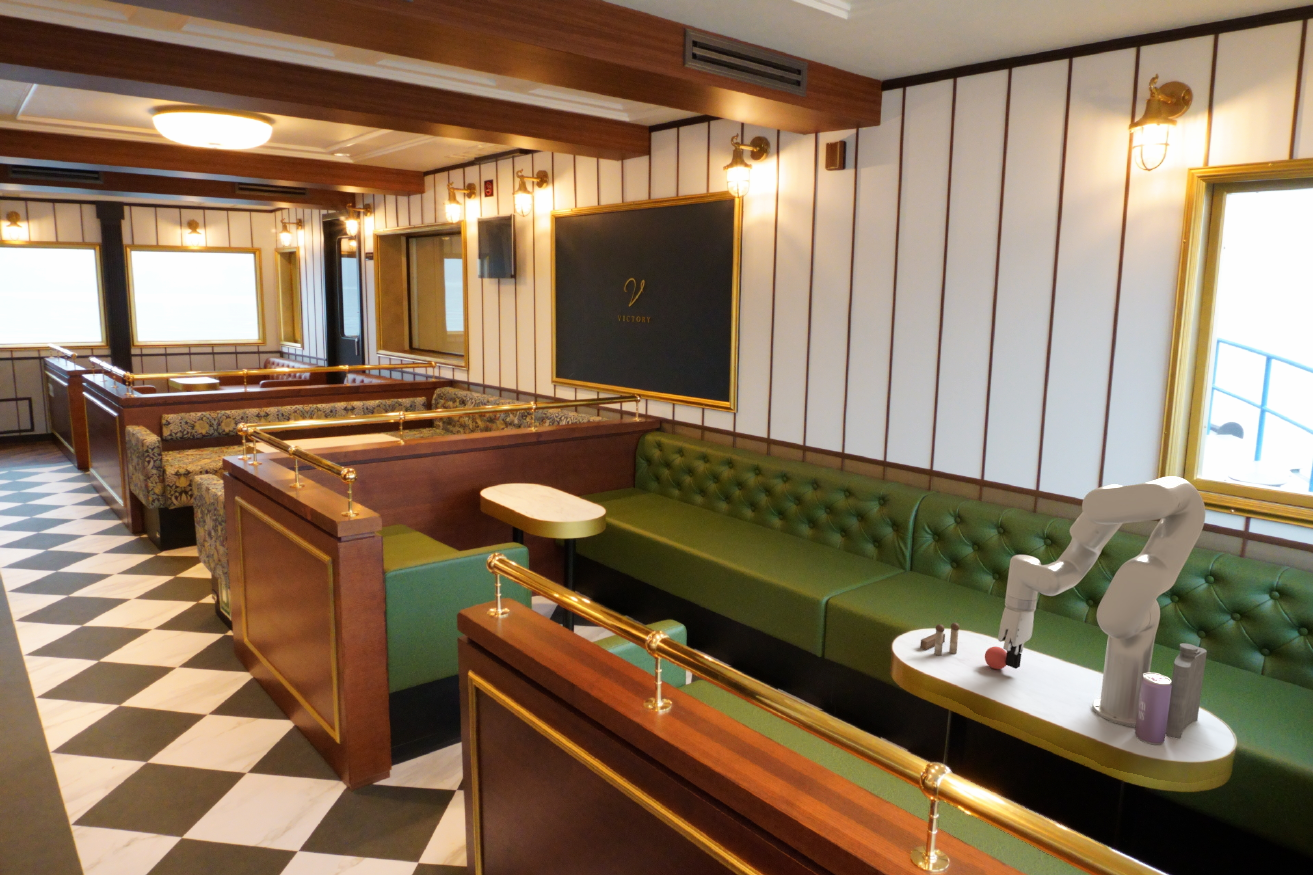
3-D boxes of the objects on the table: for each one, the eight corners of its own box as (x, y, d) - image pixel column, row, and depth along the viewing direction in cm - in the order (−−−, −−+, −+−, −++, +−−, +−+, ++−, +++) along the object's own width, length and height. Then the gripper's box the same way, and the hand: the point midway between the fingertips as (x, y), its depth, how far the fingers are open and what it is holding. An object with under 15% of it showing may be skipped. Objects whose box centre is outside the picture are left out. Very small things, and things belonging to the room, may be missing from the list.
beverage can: (1170, 746, 185) (1178, 684, 182) (1143, 745, 185) (1151, 683, 182) (1154, 732, 191) (1162, 672, 188) (1129, 731, 191) (1136, 671, 188)
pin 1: (942, 652, 232) (944, 623, 231) (942, 656, 230) (945, 626, 229) (933, 651, 233) (935, 622, 232) (933, 655, 231) (936, 625, 229)
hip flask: (1178, 739, 188) (1189, 658, 184) (1158, 732, 190) (1169, 652, 187) (1199, 717, 198) (1209, 639, 195) (1180, 711, 201) (1190, 634, 198)
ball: (1012, 662, 224) (999, 642, 226) (1013, 662, 218) (999, 641, 221) (993, 673, 225) (980, 653, 227) (993, 673, 219) (980, 652, 222)
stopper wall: (944, 641, 240) (945, 633, 240) (926, 650, 234) (927, 641, 234) (938, 639, 242) (939, 631, 241) (920, 647, 236) (920, 639, 235)
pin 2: (956, 651, 234) (959, 621, 232) (957, 654, 231) (960, 624, 230) (948, 650, 234) (950, 620, 233) (948, 653, 232) (951, 623, 231)
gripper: (1020, 591, 224) (1012, 653, 227) (993, 603, 214) (985, 668, 217) (1047, 600, 218) (1039, 663, 221) (1020, 612, 208) (1012, 679, 212)
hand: (1012, 665), depth 219 cm, fingers closed
